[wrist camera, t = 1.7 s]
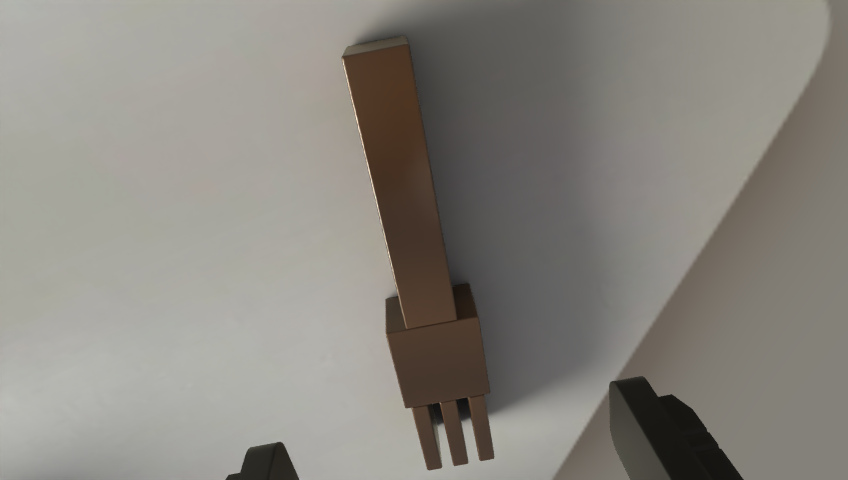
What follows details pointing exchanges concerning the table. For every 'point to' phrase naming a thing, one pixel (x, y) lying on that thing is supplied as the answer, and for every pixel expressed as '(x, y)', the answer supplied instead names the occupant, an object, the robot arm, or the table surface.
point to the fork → (418, 256)
